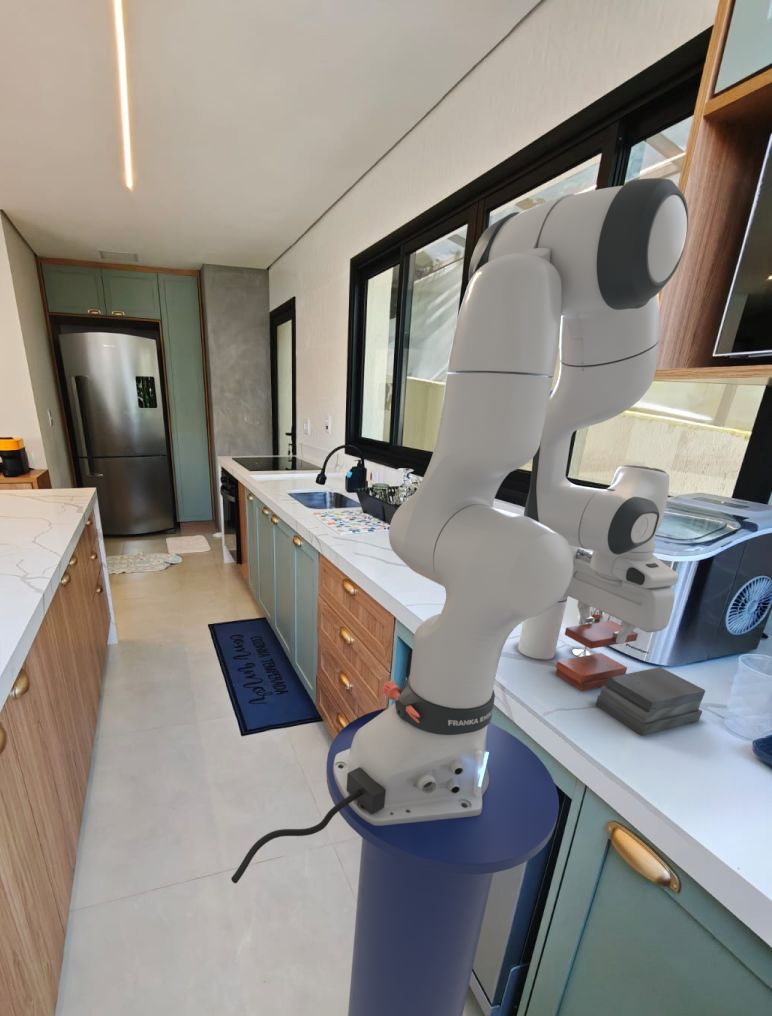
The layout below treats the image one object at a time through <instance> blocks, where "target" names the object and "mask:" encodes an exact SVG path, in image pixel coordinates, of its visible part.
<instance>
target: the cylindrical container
mask: <svg viewBox="0 0 772 1016" xmlns="http://www.w3.org/2000/svg"><path fill="white" fill-rule="evenodd" d="M570 547H571V551H572V555H573V559H576V556H577V554H578V553H577V551H578V549H580V547H576V546H572V545H570ZM568 597H569V596H567V595H565V594H564V595H563V596H562V598H561V599H560V600H559V601H558V602H557V603H556V604H555V605H554V606H553V607H551V608H550V609H549V610H547V611H546V612H544V613H542V614H540V615H538V616H535V617H532V618H529V619H526V620H524V621H523V622H522V626H521V629H520V630H521V631H520V636H519V642H518V646H517V650H518V651H519V652H520V653H521V654H522V655H524V656H526V657H529V658H532V659H536V660H550V659H553V658H554V657H555V654H556V650H557V645H558V641H559V637H560V634H561V633H560V632H561V628H562V624H563V620H564V616H565V611H566V606H567V602H568Z"/></svg>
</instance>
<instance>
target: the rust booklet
mask: <svg viewBox="0 0 772 1016" xmlns="http://www.w3.org/2000/svg"><path fill="white" fill-rule="evenodd" d="M623 628H624V627H622V626H621V624H619V623H617V622H614V621H613V620H609V621H605V622H598V623H592V624H586V625H580V624H579V625H575V626H568V627H565V632H564V636H566V637H568V638H570V639H572V640H574V641H575V642H577V643H578V644H581V645H583V646H584V647H585V646H586V647H587V649H590V650H592V649H598V648H603V647H608V646H614V645H619V644H618V643H616V642H614V641H612V637H613V636H612V635H613V632H618V631H620V630H621V629H623ZM638 635H639V633H638V632H636V631H634V630H633V631H632V632H631V633H629V634H628V635H627V638H626V642H625V643H624V644H626V643H631V642H636V641H637V639H638Z"/></svg>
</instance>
